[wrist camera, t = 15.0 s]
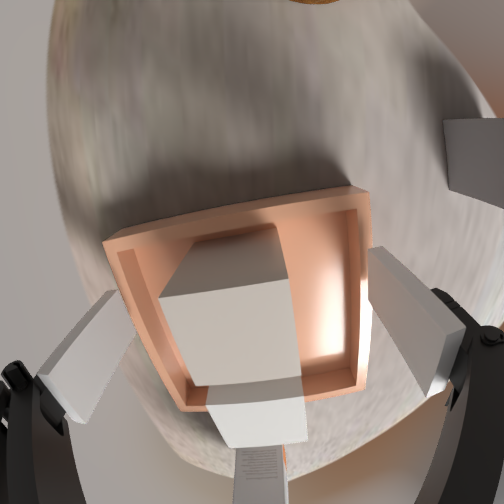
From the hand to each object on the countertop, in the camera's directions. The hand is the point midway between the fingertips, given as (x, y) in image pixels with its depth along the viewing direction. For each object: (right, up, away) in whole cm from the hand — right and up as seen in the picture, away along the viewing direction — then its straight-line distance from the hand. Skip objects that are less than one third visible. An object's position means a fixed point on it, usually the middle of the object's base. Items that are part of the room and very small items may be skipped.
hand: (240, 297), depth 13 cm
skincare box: (+2, -17, +10) cm, 19 cm away
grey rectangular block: (+15, +9, 0) cm, 17 cm away
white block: (+1, -5, +5) cm, 7 cm away
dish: (+1, -2, +4) cm, 5 cm away
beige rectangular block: (0, +1, +3) cm, 3 cm away
